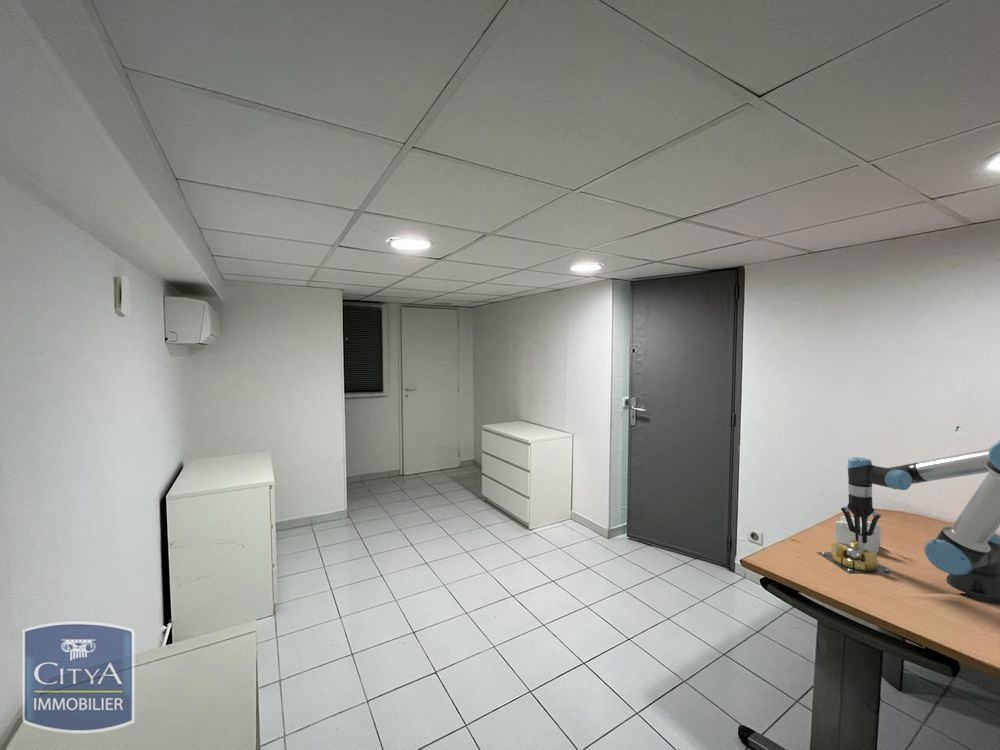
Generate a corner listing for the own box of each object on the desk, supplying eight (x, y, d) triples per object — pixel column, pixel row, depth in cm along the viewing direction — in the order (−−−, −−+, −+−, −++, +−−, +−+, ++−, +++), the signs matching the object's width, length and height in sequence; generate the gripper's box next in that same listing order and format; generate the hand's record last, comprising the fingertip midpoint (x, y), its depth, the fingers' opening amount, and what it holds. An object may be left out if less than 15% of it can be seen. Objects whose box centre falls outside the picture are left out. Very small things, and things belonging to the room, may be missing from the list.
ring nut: (888, 569, 160) (888, 553, 160) (853, 571, 160) (853, 555, 160) (854, 552, 175) (854, 537, 175) (822, 554, 174) (822, 539, 174)
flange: (896, 577, 158) (896, 560, 158) (848, 577, 159) (848, 559, 159) (858, 555, 176) (858, 539, 176) (816, 555, 177) (815, 539, 177)
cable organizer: (883, 549, 180) (883, 524, 180) (877, 557, 174) (877, 530, 174) (841, 538, 193) (840, 514, 192) (833, 545, 186) (833, 520, 186)
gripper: (883, 496, 166) (884, 552, 166) (844, 489, 177) (845, 542, 177) (877, 500, 162) (878, 558, 162) (838, 492, 173) (839, 547, 173)
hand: (861, 549), depth 170 cm, fingers closed
